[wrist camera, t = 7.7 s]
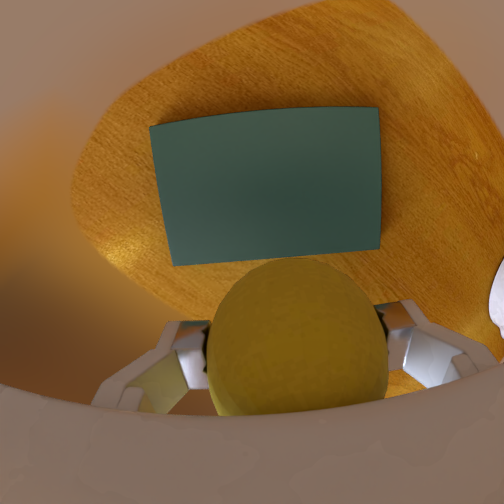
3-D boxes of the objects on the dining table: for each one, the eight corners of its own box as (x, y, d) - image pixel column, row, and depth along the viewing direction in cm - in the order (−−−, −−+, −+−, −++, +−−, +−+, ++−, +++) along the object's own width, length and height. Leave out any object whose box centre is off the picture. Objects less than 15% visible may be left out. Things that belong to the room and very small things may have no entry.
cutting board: (372, 108, 22) (378, 107, 20) (374, 243, 26) (379, 249, 25) (154, 126, 23) (148, 126, 21) (177, 259, 27) (173, 266, 26)
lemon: (314, 200, 11) (400, 333, 4) (367, 305, 13) (436, 453, 6) (195, 268, 13) (132, 432, 5) (263, 355, 14) (263, 509, 7)
